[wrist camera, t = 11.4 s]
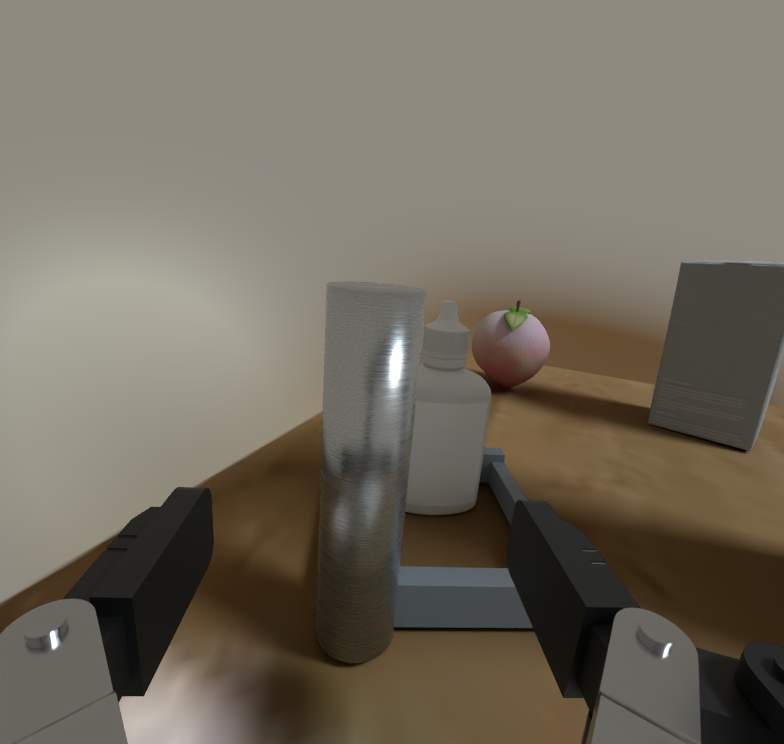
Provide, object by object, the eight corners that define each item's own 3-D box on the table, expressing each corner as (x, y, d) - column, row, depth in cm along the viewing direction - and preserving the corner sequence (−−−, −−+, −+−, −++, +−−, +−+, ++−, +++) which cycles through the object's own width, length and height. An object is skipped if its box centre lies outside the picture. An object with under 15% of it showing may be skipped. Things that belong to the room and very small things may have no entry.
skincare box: (758, 436, 40) (818, 264, 36) (749, 457, 35) (817, 261, 31) (658, 408, 46) (699, 257, 41) (638, 424, 41) (682, 253, 36)
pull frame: (495, 474, 29) (527, 278, 25) (602, 663, 16) (700, 314, 12) (336, 469, 28) (345, 265, 24) (311, 663, 15) (321, 288, 11)
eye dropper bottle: (461, 535, 23) (493, 312, 19) (369, 503, 25) (384, 298, 22) (482, 496, 27) (511, 304, 23) (400, 471, 29) (416, 293, 25)
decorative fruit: (468, 372, 54) (478, 293, 51) (535, 380, 52) (549, 299, 50) (464, 395, 45) (476, 301, 42) (544, 406, 44) (562, 309, 41)
